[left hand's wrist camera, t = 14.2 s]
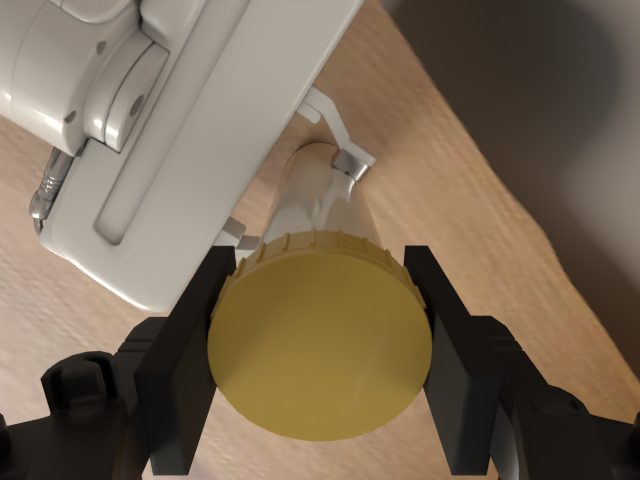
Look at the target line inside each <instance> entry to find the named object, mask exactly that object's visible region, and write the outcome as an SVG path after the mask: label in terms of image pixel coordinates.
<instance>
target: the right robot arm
mask: <svg viewBox="0 0 640 480" xmlns="http://www.w3.org/2000/svg"><path fill="white" fill-rule="evenodd" d="M364 2H365V0H0V115H2V116H4V117H5V118H7V119H9V120H11V121H12V122H14V123H16V124H17V125H19V126H21V127H22V128H24V129H26V130H28V131H29V132H31V133H33V134H34V135H36V136H38V137H40V138H41V139H43V140H45V141H46V142H48V143H50V144H51V145H53V146H54V149H53V151H52V154H51V156H50V158H49V161H48V163H47V166H46V169H45V172H44V175H43V179H42V182H41V185H40V187H39V189H38V190H37V191H36V192H35V194H34V195H33V197H32V200H31V203H30V207H29V214H30V215H31V216H32V217H34V227H35V231H36V233H37V235H38V237H39V242H40V243H41V244H42V245H43V246H44V247H45V248H47V249H48V250H50V251H52V252H53V253H55V254H57V255H59V256H61V257H63V258H65V259H67V260H68V261H70V262H71V263H72V264H74V265H75V266H76V267H77V268H79V269H80V270H81V271H83V272H84V273H85V274H87V275H88V276H89V277H91V278H92V279H94V280H95V281H97V282H98V283H99V284H101V285H102V286H104V287H105V288H107V289H108V290H110V291H111V292H113V293H114V294H116V295H117V296H119V297H121V298H122V299H124V300H125V301H127V302H128V303H130V304H132V305H134V306H135V307H137V308H139V309H141V310H143V311H146V312H163V311H169V310H171V309H172V308H173V306H174V305H175V303H176V302H177V300H178V299H179V297H180V296H181V294H182V292H183V291H184V289H185V288H186V286H187V284H188V283H189V281H190V280H191V278H192V276H193V275H194V273H195V272H196V270H197V268H198V267H199V265H200V264H201V262H202V260H203V258H204V257H205V255H206V253H207V252H208V250H209V249H210V248H211V247H212V246H235V258H236V261H241V259H242V258H243V257H245V258H247V257H248V256H249V255H251V254H252V253H253V252H254V251H256V248H257V246H258V243H259V240H260V237H254V236H244V235H243V234H244V232H245V230H246V226H245V225H243V224H241V223H240V222H238V221H237V220H235V219H233V218H232V217H230V215H231V213H232V212H233V210H234V209H235V207H236V205H237V204H238V202H239V201H240V199H241V197H242V196H243V194H244V193H245V191H246V189H247V188H248V186H249V185H250V183H251V181H252V180H253V178H254V177H255V175H256V173H257V172H258V170H259V169H260V167H261V165H262V164H263V162H264V161H265V159H266V157H267V156H268V154H269V153H270V151H271V149H272V148H273V146H274V145H275V143H276V141H277V140H278V138H279V137H280V135H281V134H282V132H283V130H284V129H285V127H286V126H287V124H288V122H289V121H290V119H291V118H292V116H293V114H294V113H295V111H296V112H298V113H299V114H301V115H302V116H303V117H305V118H306V119H308V120H309V121H311V122H312V123H317V122H318V121H319V119H320V118H321V114H323V115H324V117H325V119H326V121H327V123H328V125H329V127H330V129H331V131H332V134H333V136H334V138H335V140H336V142H337V144H338V146H339V147H338V149H337V150H336V152H335V153H334V155H333V156H332V158H331V159H332V165H333V166H335V167H336V168H338V169H339V170H341V171H343V172H349V175H350V176H351V177H352V178H353V179H354V180H356V181H357V182H361V180H362V179H363V178H364V176H365V175H366V174H367V172H368V171H369V170H370V168H371V167H372V165H373V164H374V163H375V161H376V160H377V158H376V157H375V155H374V154H373V153H371V152H370V151H369V150H368V149H366V148H365V147H363V146H362V145H360V144H359V143H358V142H356V141H355V140H353V139H352V138H350V137H349V134H348V132H347V130H346V128H345V126H344V123H343V121H342V119H341V117H340V115H339V113H338V110H337V108H336V106H335V104H334V102H333V100H332V97H330V96H329V95H327V94H326V93H325V92H323V91H322V90H320V89H319V88H318V87H316V86H315V85H313V82H314V81H315V79H316V78H317V76H318V74H319V73H320V71H321V70H322V68H323V66H324V65H325V63H326V62H327V60H328V58H329V57H330V55H331V54H332V52H333V51H334V50H335V48H336V46H337V45H338V43H339V42H340V40H341V38H342V37H343V35H344V34H345V32H346V30H347V29H348V27H349V26H350V24H351V22H352V21H353V19H354V18H355V16H356V14H357V13H358V11H359V10H360V8H361V6H362V5H363V3H364ZM45 219H47V220H46V222H45V224H44V226H43V220H45Z"/></svg>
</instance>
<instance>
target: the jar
mask: <svg viewBox="0 0 640 480" xmlns="http://www.w3.org/2000/svg"><path fill="white" fill-rule="evenodd" d="M337 149H338V147H336V146H333V145H331V144H327V143H313V144H309V145H306V146H304V147H302V148H300V149H299V150H298V151H296V152H295V153H294V154H293V155H292V156H291V158H290V159H289V161H288V163H287V165H286V167H285V170H284V173H283V176H282V178H281V181H280V184H279V187H278V190H277V192H276V195H275V198H274V201H273V204H272V206H271V209H270V212H269V215H268V218H267V220H266V223H265V226H264V229H263V232H262V234H261V237H260V240H259V243H258V246H257V248H256V250H257V249H259V248H260V245H261V243H263V242H264V243H265V244H267V243H269V242H271V241H273V240H275V239H277V238H280V237H283V236H284V234H285V233H287V232H289V235H290V234H294V233H299V232H304V231H311V228H315V231H317V230H321V231H335V232H338V229H340V230H342V231H343V233H347V234H350V235H353V236H357V237H360V238H362V239H363V238H364V236H365V237H367V238H368V241H369V242H371V243H373V244H375V245H376V246H378V247H380V248H381V249H383V246H382V243H381V241H380V238H379V235H378V232H377V230H376V227H375V224H374V221H373V218H372V216H371V213H370V210H369V207H368V204H367V202H366V199H365V196H364V193H363V190H362V188H361V185H360V182H357V181H356V180H354V179H353V178H352V177H351V176H350V175H349V172H343V171H341V170H339V169H338V168H336V167H335V166H333V165H332V159H331V158H332V156H333V155H334V153H335V152H336V150H337ZM383 250H384V249H383Z"/></svg>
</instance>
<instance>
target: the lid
mask: <svg viewBox="0 0 640 480" xmlns="http://www.w3.org/2000/svg"><path fill="white" fill-rule="evenodd" d="M218 297H219V298H218V300H217V302H216V305H215V307H214V309H213V311H212V314H211V316H210V320H211V323H210V327H209V331H208V338H207V352H208V361H209V367H210V371H211V373H212V376H213V379H214V381H215V383H216V385H217V387H218V389H219V390H220V392H221V393H222V395H223V396H224V397H225V399H226V400H227V402H228V403H229V404H230V405H231V406H232V407H233V408H234V409H235V410H236V411H237V412H239V413H240V414H241V415H242V416H243V417H245V418H246V419H247V420H249V421H251V422H252V423H254V424H255V425H257V426H259V427H261V428H263V429H265V430H267V431H269V432H272V433H275V434H278V435H281V436H284V437H288V438H292V439H298V440H305V441H335V440H342V439H348V438H352V437H355V436H359V435H362V434H365V433H367V432H370V431H373V430H375V429H377V428H379V427H381V426H383V425H385V424H386V423H388V422H389V421H391V420H392V419H394V418H395V417H396V416H398V415H399V414H400V413H401V412H402V411H404V410H405V409H406V408H407V407H408V405H409V404H410V403H411V402H412V401H413V400H414V399H415V397H416V396H417V394H418V393H419V392H420V390H421V388H422V386H423V384H424V383H425V381H426V378H427V376H428V373H429V370H430V366H431V358H432V349H433V339H432V331H431V327H430V324H429V321H428V318H427V315H426V313H425V311H424V309H426V308H427V307H426V305H425V303H424V300H423V298H422V296H421V294H420V292H419V289H418V287H417V286H414V284H413V281H412V279H411V277H410V275H409V272H408V270H407V268H406V267H405V266H403V267H401V265H400V264H399V263H398V262H397V261H396V260H395V259H394V258H393V257H392V256H391V253H390V251H389V250H388V249H386V250H385V251H384V250H383V249H381V248H380V247H378V246H376V245H375V244H373V243H371V242H369V241H368V238H367V237H365V236H364V238H363V239H362V238H360V237H357V236H353V235H350V234H347V233H343V231H342V230H340V229H338V232H335V231H321V230H317V231H315V228H311V231H304V232H299V233H294V234H290V235H289V232H287V233H285V234H284V236H283V237H280V238H277V239H275V240H273V241H271V242H269V243H267V244H265V243H264V242H263V243H261V245H260V248H259V249H257V250H256V251H254V252H253V253H252V254H251V255H249V256H248V257H247V258H245V257H243V258H242V259H241V261H240V263H239V265H238V268H237V269H236V270H235V271H234V273H233V275H232V276H229V275H228V277H227V279H226V281H225V283H224V285H223V288H222V290H221V292H220V294H219V296H218Z"/></svg>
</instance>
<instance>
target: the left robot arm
mask: <svg viewBox="0 0 640 480" xmlns="http://www.w3.org/2000/svg"><path fill="white" fill-rule="evenodd" d="M404 266H405V267H406V268H407V270H408V272H409V275H410V277H411V279H412V281H413V284H414V286H417V287H418V289H419V292H420V294H421V296H422V298H423V300H424V303H425V305H426V307H427V308H426V309H424V311H425V313H426V315H427V318H428V321H429V324H430V327H431V331H432V339H433V349H432V358H431V366H430V370H429V373H428V376H427V378H426V381H425V383H424V384H423V389H424V392H425V395H426V398H427V401H428V404H429V407H430V410H431V413H432V416H433V419H434V422H435V425H436V428H437V431H438V435H439V438H440V441H441V444H442V447H443V450H444V453H445V456H446V459H447V462H448V465H449V468H450V471H451V474H452V475H487V470H488V465H489V460H490V456H491V458H492V460H493V463H494V465H495V467H496V469H497V472H498V474H499V476H498V480H640V412H639V413H637V415H636V418H635V421H634V424H629V423H625V422H620V421H616V420H611V419H607V418H603V417H599V416H595V415H592V414H590V413H589V412H588V410H587V409H586V407H585V405H584V404H583V403H582V402H581V401H580V400H578V399H577V398H576V397H575V396H574V395H572V394H571V393H569V392H567V391H565V390H563V389H561V388H559V387H555V386H552V385H549V384H548V383H547V382H546V380H545V379H544V378H543V376H542V375H541V374H540V372H539V371H538V369H537V368H536V367H535V365H534V364H533V363H532V361H531V360H530V358H529V357H528V356H527V354H526V353H525V352H524V351H522V347H521V346H520V345H519V343H518V342H517V341H515V338H514V336H513V335H512V334H511V332H510V331H509V330H508V328H507V327H506V326H505V325H504V324H502V323H501V322H499V321H498V320H496V319H495V318H493V317H492V316H471V315H470V314H469V312H468V311H467V309H466V307H465V306H464V304H463V302H462V301H461V299H460V298H459V296H458V294H457V293H456V291H455V289H454V288H453V286H452V285H451V283H450V281H449V280H448V278H447V276H446V275H445V273H444V272H443V270H442V268H441V267H440V265H439V263H438V262H437V260H436V259H435V257H434V255H433V254H432V252H431V250H430V249H429V247H428V246H405V254H404ZM235 270H236V258H235V246H212V247H211V248H210V250H209V252H208V253H207V255H206V256H205V258H204V260H203V261H202V263H201V265H200V266H199V268H198V269H197V271H196V273H195V274H194V276H193V278H192V279H191V281H190V282H189V284H188V286H187V287H186V289H185V291H184V292H183V294H182V295H181V297H180V299H179V300H178V302H177V304H176V305H175V307H174V308H173V310H172V312H171V313H170V315H169V317H148V318H147V319H145V320H144V321H143V322H141V323H140V324H138V325H137V326H135V327H134V328H133V330H132V331H131V332H130V334H129V335H128V336H127V338H126V339H125V342H123V343H122V345H121V346H120V347H119V349H118V352H116V353H115V354H114V356H113V355H112V354H110V353H107V352H102V351H91V352H84V353H80V354H76V355H72V356H70V357H68V358H66V359H63V360H61V361H59V362H57V363H56V364H55V365H53V366H52V367H51V368H49V369H48V370H47V371H46V372H45V373H44V375H43V376H42V377H41V383H42V386H43V389H44V393H45V396H46V399H47V402H48V406H49V409H50V412H51V414H50V416H47V417H44V418H41V419H36V420H32V421H27V422H23V423H19V424H14V425H10V426H7V425H6V422H5V419H4V416H3V415H2V414H1V413H0V480H142V476H141V475H142V473H143V471H144V469H145V466H146V464H147V462H148V460H149V457H150V461H151V466H152V471H153V475H188V474H189V471H190V467H191V464H192V461H193V458H194V455H195V452H196V449H197V446H198V443H199V440H200V437H201V434H202V431H203V428H204V425H205V421H206V418H207V415H208V412H209V409H210V406H211V403H212V400H213V397H214V394H215V391H216V388H217V385H216V383H215V381H214V379H213V376H212V373H211V371H210V367H209V361H208V352H207V338H208V331H209V327H210V323H211V320H210V316H211V314H212V311H213V309H214V307H215V305H216V302H217V300H218V298H219V297H218V296H219V294H220V292H221V290H222V288H223V285H224V283H225V281H226V279H227V277H228V275H229V276H232V275H233V273H234V271H235Z"/></svg>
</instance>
